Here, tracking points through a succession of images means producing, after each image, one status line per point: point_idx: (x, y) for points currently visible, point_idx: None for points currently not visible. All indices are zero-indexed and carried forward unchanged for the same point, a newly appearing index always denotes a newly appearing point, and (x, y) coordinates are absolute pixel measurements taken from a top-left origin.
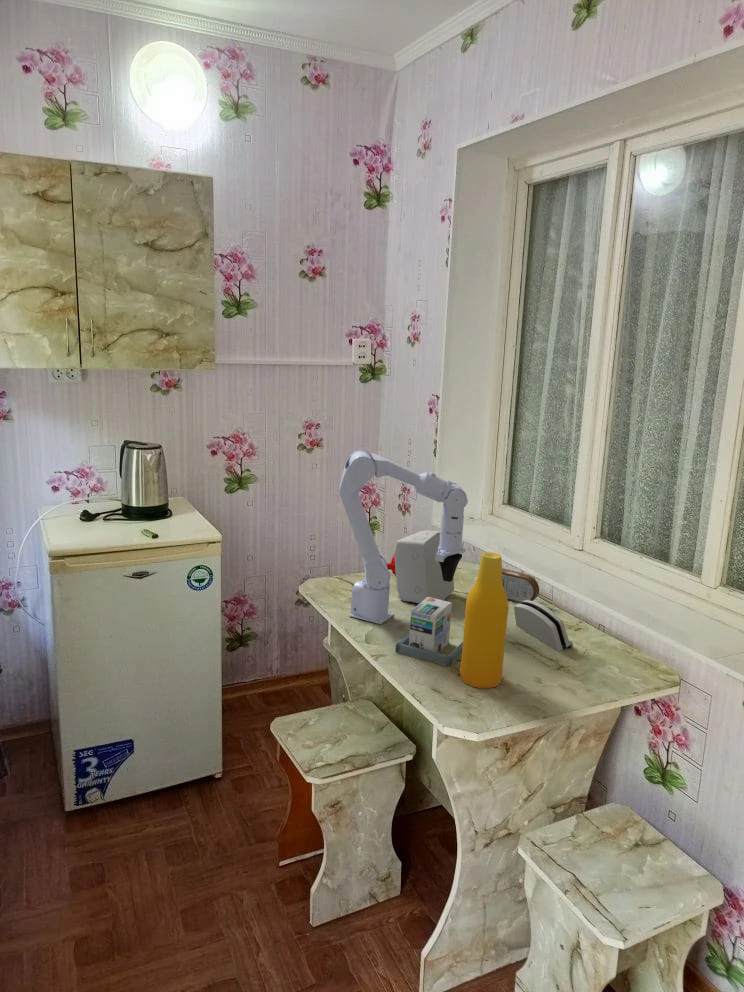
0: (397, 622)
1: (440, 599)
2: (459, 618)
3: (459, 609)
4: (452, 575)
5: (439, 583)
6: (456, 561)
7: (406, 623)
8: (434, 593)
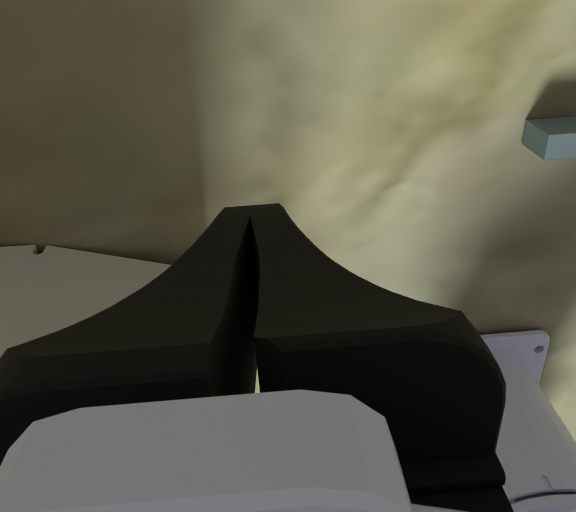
0: (476, 286)
1: (48, 257)
2: (199, 22)
3: (53, 97)
4: (277, 226)
5: (8, 338)
6: (371, 317)
7: (466, 247)
8: (106, 301)
